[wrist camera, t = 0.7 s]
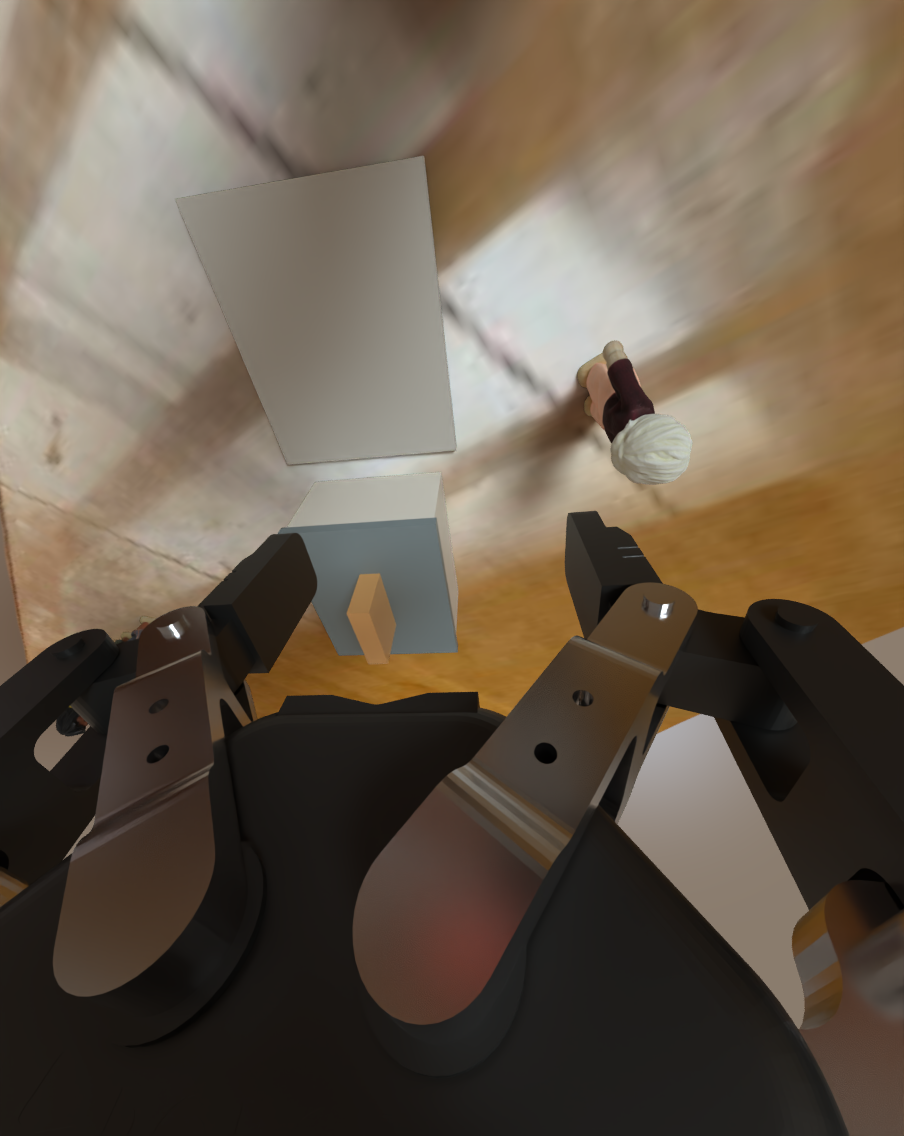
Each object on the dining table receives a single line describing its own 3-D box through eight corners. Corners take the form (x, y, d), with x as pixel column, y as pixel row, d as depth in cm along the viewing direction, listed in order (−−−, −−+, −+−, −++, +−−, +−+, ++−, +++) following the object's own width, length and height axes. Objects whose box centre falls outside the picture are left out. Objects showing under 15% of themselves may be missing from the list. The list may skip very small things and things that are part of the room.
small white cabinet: (315, 482, 34) (285, 529, 28) (441, 471, 32) (434, 519, 27) (358, 595, 43) (342, 647, 37) (458, 590, 41) (455, 643, 36)
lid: (286, 519, 29) (252, 572, 25) (437, 509, 28) (430, 562, 23) (343, 640, 38) (326, 693, 34) (458, 636, 37) (455, 691, 33)
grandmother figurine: (643, 413, 28) (725, 509, 19) (591, 439, 30) (644, 540, 20) (611, 306, 24) (696, 360, 15) (552, 342, 26) (596, 412, 16)
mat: (179, 199, 22) (174, 198, 21) (424, 156, 20) (423, 155, 20) (289, 462, 32) (287, 464, 32) (456, 447, 31) (456, 450, 30)
